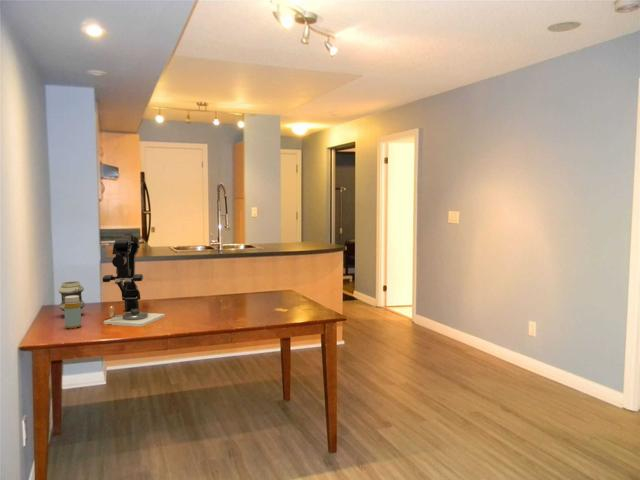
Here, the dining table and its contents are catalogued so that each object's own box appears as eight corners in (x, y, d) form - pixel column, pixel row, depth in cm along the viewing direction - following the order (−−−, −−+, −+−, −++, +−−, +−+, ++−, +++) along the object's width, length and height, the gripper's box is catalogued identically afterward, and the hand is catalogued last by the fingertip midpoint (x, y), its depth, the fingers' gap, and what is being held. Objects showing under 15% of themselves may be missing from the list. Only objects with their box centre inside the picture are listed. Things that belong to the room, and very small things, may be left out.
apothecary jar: (60, 314, 266) (59, 281, 264) (85, 312, 270) (84, 279, 269) (58, 319, 255) (56, 284, 253) (84, 317, 259) (83, 283, 258)
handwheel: (144, 313, 261) (144, 300, 260) (150, 317, 251) (150, 304, 250) (107, 317, 251) (106, 304, 250) (111, 322, 241) (111, 309, 240)
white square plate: (103, 324, 245) (103, 321, 245) (129, 314, 265) (129, 311, 265) (141, 326, 240) (141, 323, 240) (164, 316, 261) (164, 314, 260)
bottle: (70, 329, 234) (69, 298, 233) (62, 327, 238) (60, 297, 237) (84, 326, 240) (83, 296, 239) (75, 324, 244) (74, 294, 243)
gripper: (144, 261, 263) (145, 290, 264) (106, 262, 259) (108, 292, 261) (140, 265, 252) (141, 295, 254) (101, 265, 249) (102, 296, 250)
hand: (123, 294), depth 255 cm, fingers closed
